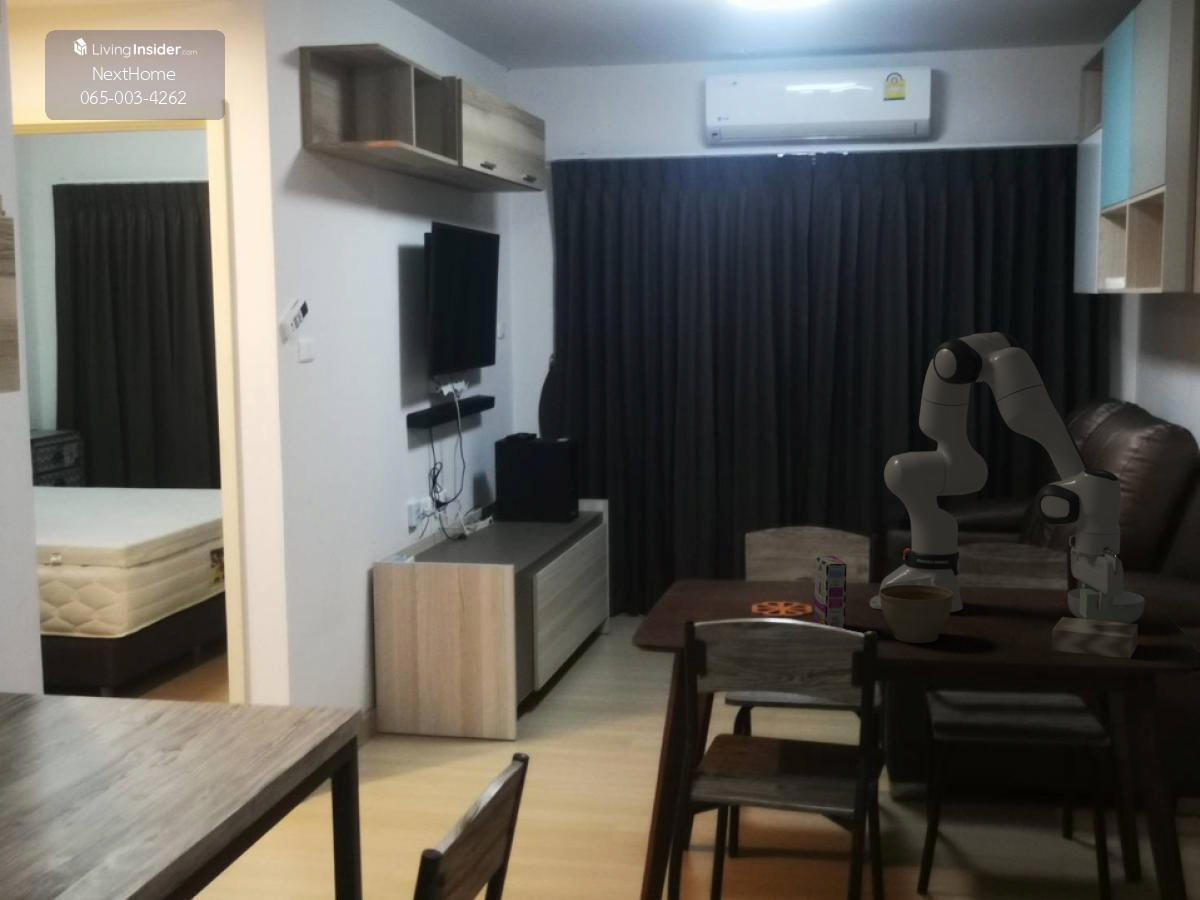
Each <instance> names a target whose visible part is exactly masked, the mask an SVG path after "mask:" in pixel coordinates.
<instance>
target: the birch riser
mask: <svg viewBox="0 0 1200 900" xmlns="http://www.w3.org/2000/svg"><path fill="white" fill-rule="evenodd" d="M1138 631H1139V624H1138V623H1137V624H1136V623H1119V622H1109V621H1098V620H1088V619H1079V618H1077V617H1066V616H1061V617H1060V620H1058V621H1057V623H1056V625H1054V627H1053V628H1052V631H1051V632H1052V633H1051V651H1056V652H1064V653H1073V654H1081V653H1082V655H1091V656H1101V657H1111V658H1120V659H1128V660H1129V659H1130V660H1131V659H1132V656H1133V654H1134V652H1135V651H1136V648H1137V646H1138V638H1139V637H1138V636H1139V635H1138V634H1139V633H1138Z"/></svg>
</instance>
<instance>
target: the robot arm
mask: <svg viewBox="0 0 1200 900" xmlns="http://www.w3.org/2000/svg"><path fill="white" fill-rule="evenodd" d="M980 382H981V383H982V382H985V383H986V384H987V385H988V386H989V387H990V389H991V391H992V394H993V397H994V400H995V402H996V405H997V409H998V411H999V413H1000V415H1001V417H1002V419H1003V421H1004V423H1005V424H1006V425H1007V427H1008V428H1009V429H1010V430H1012V431H1014V432H1015V433H1017V434H1019V435H1023V436H1024V437H1025V436H1026V437H1027V438H1029V439H1031V440H1034V441H1036V442H1037V443H1039V444H1041V446H1042V447H1043V448H1045V450H1046V451H1047V454H1049V457H1050V459H1051V462H1052V463H1053V465H1054V467H1055V468H1056V471H1057V473H1058V475H1059V477H1060V479H1061V480H1058V481H1055V482H1051V483H1048V484H1046V485H1043V486H1042V487H1041V488H1040V489H1039V490H1038V492H1037V494H1036V498H1035V509H1036V512H1037V515H1038V516H1039V518H1040V519H1041V520H1042V521H1043V522H1045V523H1047V524H1049V525H1053V526H1064V525H1071V524H1072V525H1075V526H1076V534H1074V535H1071V536H1069V541H1068V542H1069V546H1070V547H1071V550H1070V567H1071V568H1070V570H1071V575H1072V577H1073V578H1075V579H1077V580H1078V581H1080V582H1082V583H1081V584H1082V585H1081V588H1083V589H1093V588H1095V589H1097V590H1099V595H1100V599H1099V602H1097V609H1098V610H1100V611H1107V610H1108V603H1109V600H1110V598H1111V595H1121V594H1122V592H1123V591H1124V568H1123V562H1122V561H1121V559H1119V558H1118V555H1119V554H1120V547H1121V546H1120V545H1121V528H1120V527H1121V526H1120V523H1119V521H1120V516H1121V515H1122V514H1121V513H1122V490H1121V488H1122V487H1121V483H1120V479H1119V478H1118V476H1117V475H1116V474H1114V473H1113V472H1111V471H1108V470H1105V469H1101V468H1100V469H1099V468H1089V467H1088V464H1087V462H1086V461H1085V460H1084V457H1083V456H1082V454H1081V450H1080V449H1079V447H1078V446H1077V444H1076V442H1075V439H1074V437H1073V435H1072V434H1071V431H1070V430H1069V428H1068V426H1067V424H1066V423H1065V421H1064V420H1063V419H1062V417H1061V416H1060V414H1059V412H1058V411H1057V409H1056V408H1055V406H1054V404H1053V401H1052V399H1051V398H1050V396H1049V394H1048V392H1047V389H1046V386H1045V384H1044V381H1043V379H1042V377H1041V375H1040V373H1039V370H1038V369H1037V367H1036V365H1035V363H1034V362H1033V360H1032V359H1031V357H1030V355H1029V354H1028V353H1027V351H1026V350H1024V349H1023V348H1021V347H1020V345H1019V342H1018V341H1017V339H1016V338H1015V337H1014V336H1012V335H1011V334H1008V333H1006V332H1001V331H992V332H985V333H984V332H983V333H982V332H981V333H973V334H971V335H967V336H962V337H959V338H951V339H949V340H946V341H944V342H942V343H941V344H939V346H937V348H935V352H934V353H933V357H932V359H931V360H930V362H929V365H928V368H927V371H926V374H925V378H924V383H923V387H922V393H921V401H920V410H919V417H918V418H919V419H918V426H919V429H920V430H921V432H922V433H923V434H924V435H925V436H927V437H928V438H930V439H932V440H934V441H935V442H937V448H936V450H933V451H909V452H904V453H900V454H899V453H898V454H897V455H896V454H895V455H893V456H891V457H890V458H889V460H888V461H887V462H886V464H885V468H884V470H883V478H884V481H885V482H884V483H885V485H886V487H887V489H889V491H890V492H891V493H892V494H894V495H895V496H896V497H897V498H899V500H900V501H901V502H902V503H903V505H904V507H905V508H906V511H907V513H908V516H909V519H910V533H911V534H910V535H911V548H909V547H908V548H907V547H906V548H905V549H904V550H903V552H902V553H903V554H902V563H903V564H902V565H900V566H899V567H897V568H896V569H895V570H894V571H892V572H891V573H889V574H888V575H886V576H885V577H884V578H883V579H882V581H881V584H880V588H879V593H878V594H877V595H874V596H873V597H871V599H870V600H869V601H870V602H869V606H870V607H871V608H872V609H877V610H882V607H881V597H880V590H881V589H882V588H884V587H888V586H894V585H930V586H937V587H942V588H946V589H948V590H951V591H952V592H953V599H952V607H951V612H950V613H954V612H959V611H962V610H963V608H964V605H963V602H962V598H961V593H960V586H959V572H960V561H961V560H960V559H961V558H960V552H959V550H958V540H959V539H958V538H959V537H958V535H959V534H958V531H959V530H958V529H959V528H958V527H959V524H958V521H957V519H956V518H955V516H954V515H952V514H951V513H950V512H948V511H946V510H944V509H942V508H940V507H939V505H938V500H937V497H939V496H963V495H967V494H972V493H976V492H979V491H981V490H982V488H984V486H985V485H986V482H987V480H988V474H989V471H988V464H987V463H986V461H985V459H984V457H982V455H981V454H979V453H978V452H977V451H976V450H975V449H974V447H972V445H971V443H970V441H969V438H968V433H967V425H968V423H967V419H968V412H969V410H968V409H969V400H970V390H971V385H972V384H974V383H980Z"/></svg>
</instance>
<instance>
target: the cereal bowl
mask: <svg viewBox="0 0 1200 900" xmlns="http://www.w3.org/2000/svg"><path fill="white" fill-rule="evenodd" d="M1080 589H1083V587H1081V588H1075V589H1071V590H1070V591H1068V593H1067V605H1068V606H1067V607H1068V608H1069V610H1070V612H1071V613H1072V615H1074V616H1075V618H1078V619H1086V618H1084V617H1083V616H1082V615H1081V614H1080V613H1079V610H1080ZM1093 589H1095V588H1093ZM1145 603H1146V600H1145V597H1144V596H1142V595H1141V594H1138V593H1134V592H1132V591H1127V590H1123V592H1122V594H1121V595H1113V611H1112V619H1088V620H1098V621H1109V622H1119V623H1129V624H1133V623H1134V622H1135V621H1137V620H1139V619H1140V617H1141V616H1142V614H1143V613H1144V609H1145V606H1146V605H1145Z"/></svg>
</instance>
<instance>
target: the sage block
mask: <svg viewBox="0 0 1200 900" xmlns="http://www.w3.org/2000/svg"><path fill="white" fill-rule="evenodd" d="M1079 589H1080V588H1079ZM1099 599H1100V595H1099V590H1097V589H1080V610H1079V613H1080V614H1081V615H1082V616H1083V617H1084V618H1086V619H1112V611H1113V595H1111V598H1110V600H1109V603H1108V610H1107V611H1100V610H1098V609H1097V602H1099Z"/></svg>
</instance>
